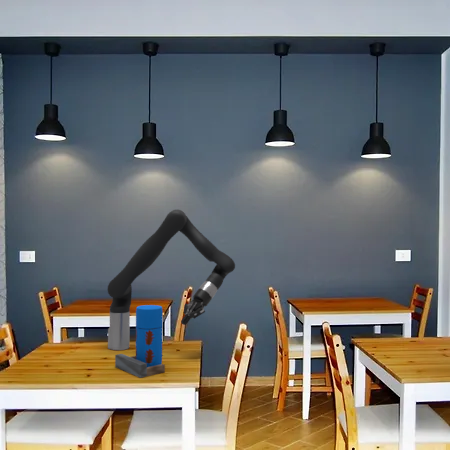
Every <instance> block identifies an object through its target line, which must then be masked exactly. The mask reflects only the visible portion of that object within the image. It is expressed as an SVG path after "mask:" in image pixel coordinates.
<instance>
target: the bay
mask: <svg viewBox="0 0 450 450" xmlns="http://www.w3.org/2000/svg"><path fill="white" fill-rule="evenodd" d="M114 357H115V358H114V360H115V361H114V365H115V366H114V367H115V368H116V369H119V370H121V371H123V372H126V373H128V374H131V375H133V376H135V377H137V378H138V379H139V378H145V377H149V376H154V375H159V374H163V373H166V372H165V370H166V368H165V364H164V363H162V364H160V365H156V366H151V367H147V364H146V363H144V362H141V361H139V360H136V355H133V356H129V355H126V354H124V353H118V354H115V355H114Z"/></svg>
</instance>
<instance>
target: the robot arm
mask: <svg viewBox="0 0 450 450" xmlns="http://www.w3.org/2000/svg"><path fill="white" fill-rule="evenodd" d="M179 232H180V233H181V234H183V235H184V236H185V237H186V238H187V240H189V241H190V242H191V244H192V245H193V246H194V248H195V249H196V250H197V251H198V252H199V254H201V255H202V256H203V257H204V258H205V259H206V260H207V261H208V262H210V263H211V262H212V263H215V264H216V265H215V266H214V267H213V269H212V270H211V273H210V274H209V275H208V277H207V278H206V279H205V280H204V282H203V283H201V285H200V286H199V287H198V289H197V290H196V291H195V293H194V294H193V297H192V298H193V299H192V300H191V301H190V302H189V303H188V304H187V303H184V307H183V314H184V316H183V318H182V319H181V321H180V323H181V324H182V325H184V326H186V325H187V324H189V322H190V320H192V319H196V318H198V317H200V316H201V315H203V314H205V312H206V311H205V309H204V308H205V307H207V306H208V304H210V302H211V301H212V299H214V297H215V296H216V294H217V292H218V290H219V289H220V288H221V286H222V285H223V283H224V279H226V277H227V276H228V275H229V274H230V273H232V272H234V270H235V269H236V264H235V261H234V259H233V258H232V257H230V256H229V255H228V254H226V252H225V253H224V251H221V250H220V249H218V247H217V246H215V244H213V242H211V240H210V239H208V238H207V237H206V236H205V235H204V234H203V233H202V232H201V231H199V229H197V227H196V226H195V224H193V223H192V221H191V220H190V219H189V217H188V216H187V215H186V213H185V212H184V211H183V210H181V209H173V210H171V211H170V212H169V213H167V215H166V216H165V218H164V220H163V221H162V222H161V224H160V225H159V227H158V228H157V230H156V231H155V232H153V234H152V235H150V237H148V238H147V239H146V241H144V243H142V245H140V247H139V248H138V250H137V251H136V252H135V253H134V255H132V257H131V258H130V259H129V261H128V262H127V264H126V265H125V266H124V268H122V269H121V271H120V272H118V274H117V275H116V276H115V277H113V279H112V280H111V281H109V282H108V285H107V294H108V296H109V297H111V298H112V301H111V304H110V306H109V328H107V349H108V350H114V351H123V350H125V351H126V350H128V349H130V335H131V334H130V330H131V329H130V328H131V327H130V324H131V323H130V321H131V320H130V316H131V312H130V311H131V309H130V308H131V305H132V292H133V291H132V288H133V287H132V284H133V282H134V281H135V280H136V279H137V278H138V277H139V276H141V275H142V273H145V271H147V270H148V269H149V267H151V266H152V264H154V262H155V261H156V260H157V259H158V258H159V256H160V255H161V254H162V252H163V251H164V249H165V247H166V246H167V244H168V243H169V241H170V240H171V239H172V238H173V237H174V236H175V235H176V234H177V233H179Z"/></svg>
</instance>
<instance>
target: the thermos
mask: <svg viewBox="0 0 450 450" xmlns="http://www.w3.org/2000/svg"><path fill="white" fill-rule="evenodd" d="M163 313H164V312H163V306H161V305H157V304H156V305H155V304H149V305H148V304H145V305H138V306H137V307H136V309H135V356H136V360H139V361H141V362H144V363H146V364H147V367H151V366H156V365H160V364H163V363H162V362H163V315H164V314H163Z"/></svg>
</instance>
